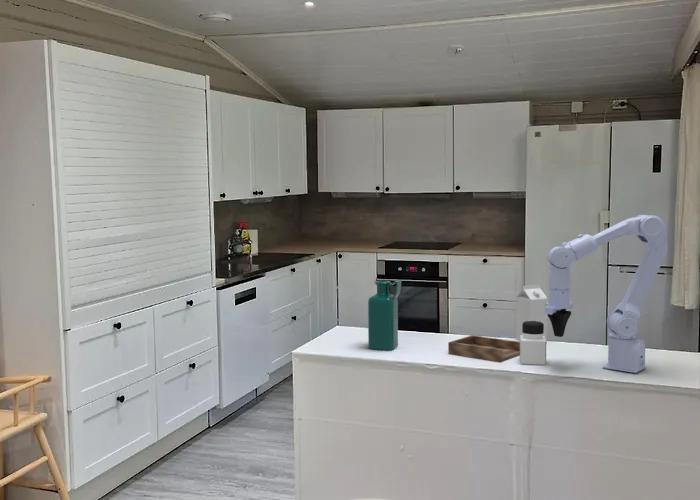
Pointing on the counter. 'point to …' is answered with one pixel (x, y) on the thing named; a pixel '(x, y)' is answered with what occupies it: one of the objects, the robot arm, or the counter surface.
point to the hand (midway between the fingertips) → (558, 336)
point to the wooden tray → (484, 348)
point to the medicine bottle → (533, 343)
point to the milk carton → (530, 308)
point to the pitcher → (383, 317)
